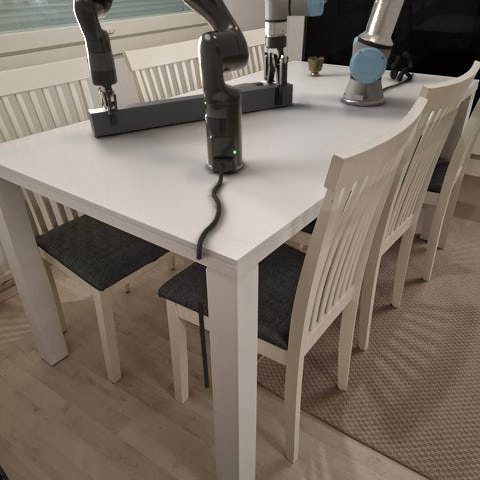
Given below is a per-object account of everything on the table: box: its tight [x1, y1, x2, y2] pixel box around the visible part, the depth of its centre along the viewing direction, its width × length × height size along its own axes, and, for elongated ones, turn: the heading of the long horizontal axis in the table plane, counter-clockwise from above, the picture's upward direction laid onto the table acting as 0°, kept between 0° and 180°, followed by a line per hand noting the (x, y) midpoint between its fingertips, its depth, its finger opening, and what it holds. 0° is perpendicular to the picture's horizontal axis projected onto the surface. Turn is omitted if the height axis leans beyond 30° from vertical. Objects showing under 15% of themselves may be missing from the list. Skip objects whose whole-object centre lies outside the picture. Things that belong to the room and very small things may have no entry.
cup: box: [307, 56, 325, 77], centre depth 209 cm, size 8×7×8 cm
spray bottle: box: [233, 80, 277, 89], centre depth 187 cm, size 3×11×24 cm
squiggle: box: [386, 51, 414, 83], centre depth 198 cm, size 11×10×15 cm
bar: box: [87, 82, 294, 138], centre depth 154 cm, size 74×5×7 cm, turn 117°
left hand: (112, 123), depth 143 cm, fingers closed on bar, 4 cm apart
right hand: (274, 102), depth 167 cm, fingers open, 5 cm apart
